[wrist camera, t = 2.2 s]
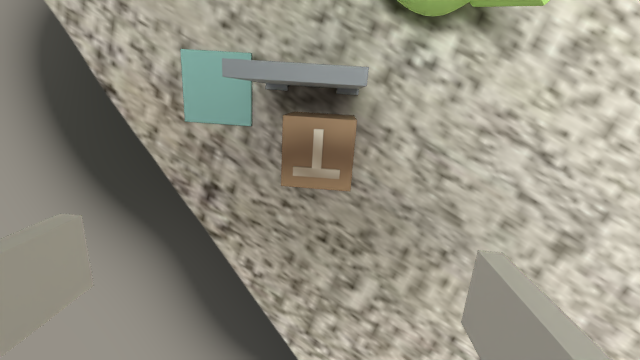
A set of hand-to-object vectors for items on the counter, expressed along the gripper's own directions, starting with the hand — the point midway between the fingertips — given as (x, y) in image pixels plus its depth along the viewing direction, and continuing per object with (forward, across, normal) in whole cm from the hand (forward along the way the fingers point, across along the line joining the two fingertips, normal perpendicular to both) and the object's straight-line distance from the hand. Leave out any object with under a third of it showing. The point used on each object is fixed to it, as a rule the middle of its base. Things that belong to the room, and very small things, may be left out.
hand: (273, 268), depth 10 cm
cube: (+27, 0, 0) cm, 27 cm away
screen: (+27, -2, +7) cm, 28 cm away
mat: (+27, -12, +6) cm, 30 cm away
